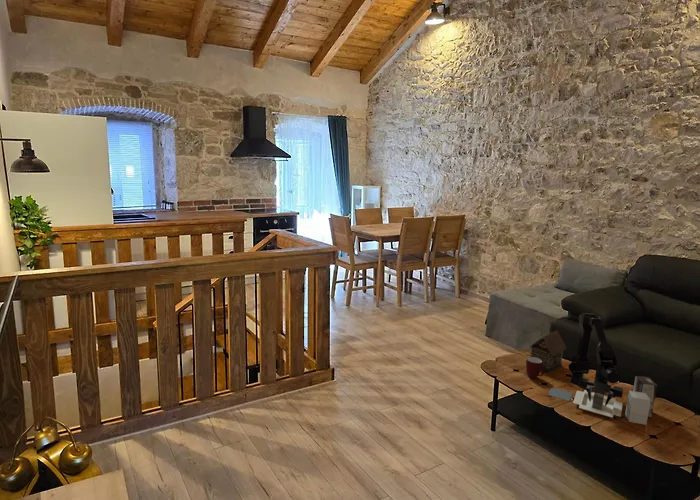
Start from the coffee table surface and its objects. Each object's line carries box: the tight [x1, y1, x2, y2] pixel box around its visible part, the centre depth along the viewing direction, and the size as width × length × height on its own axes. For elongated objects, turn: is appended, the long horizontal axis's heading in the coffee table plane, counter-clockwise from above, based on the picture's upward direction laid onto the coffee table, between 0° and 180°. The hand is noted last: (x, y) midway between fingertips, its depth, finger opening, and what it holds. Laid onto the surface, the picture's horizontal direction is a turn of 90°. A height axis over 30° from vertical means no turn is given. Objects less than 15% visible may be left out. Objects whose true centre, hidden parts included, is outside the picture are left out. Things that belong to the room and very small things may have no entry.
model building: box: [529, 330, 567, 374], centre depth 269 cm, size 18×14×20 cm
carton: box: [572, 389, 624, 419], centre depth 226 cm, size 21×20×2 cm
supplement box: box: [624, 390, 651, 426], centre depth 215 cm, size 7×7×13 cm
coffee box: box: [632, 375, 658, 418], centre depth 222 cm, size 9×6×16 cm
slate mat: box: [547, 386, 573, 402], centre depth 236 cm, size 10×10×1 cm
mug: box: [525, 356, 545, 380], centre depth 253 cm, size 10×8×10 cm
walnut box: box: [592, 392, 605, 410], centre depth 225 cm, size 8×4×6 cm, turn 147°
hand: (597, 403), depth 225 cm, fingers open, 6 cm apart
